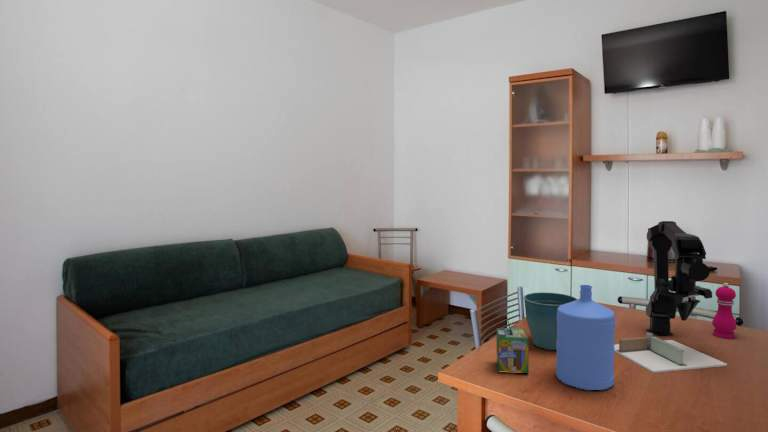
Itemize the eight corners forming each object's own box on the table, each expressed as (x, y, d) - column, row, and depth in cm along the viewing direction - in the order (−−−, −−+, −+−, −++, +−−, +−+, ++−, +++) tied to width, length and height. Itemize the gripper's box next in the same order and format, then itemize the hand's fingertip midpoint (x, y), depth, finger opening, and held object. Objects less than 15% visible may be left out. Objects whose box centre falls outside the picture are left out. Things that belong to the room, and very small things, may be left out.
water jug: (611, 397, 123) (613, 295, 120) (550, 384, 131) (551, 288, 129) (616, 375, 136) (618, 283, 134) (561, 365, 144) (562, 278, 142)
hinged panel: (650, 349, 153) (650, 336, 153) (654, 349, 154) (654, 336, 153) (678, 364, 141) (679, 350, 141) (683, 364, 141) (683, 350, 141)
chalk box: (528, 375, 137) (529, 327, 136) (497, 373, 139) (497, 326, 137) (525, 363, 146) (525, 318, 145) (495, 361, 148) (496, 317, 146)
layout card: (606, 346, 159) (606, 330, 158) (671, 341, 163) (671, 325, 163) (653, 372, 137) (653, 353, 137) (727, 365, 141) (727, 347, 141)
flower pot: (513, 339, 167) (513, 294, 166) (553, 333, 173) (554, 290, 172) (544, 357, 150) (545, 307, 149) (588, 350, 156) (589, 302, 155)
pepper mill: (731, 333, 170) (733, 281, 169) (739, 340, 163) (741, 285, 162) (708, 331, 172) (710, 280, 171) (715, 338, 166) (718, 284, 164)
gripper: (681, 266, 159) (679, 310, 161) (643, 272, 153) (641, 317, 154) (714, 273, 149) (712, 319, 151) (674, 278, 142) (672, 327, 144)
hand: (683, 320), depth 150 cm, fingers closed
